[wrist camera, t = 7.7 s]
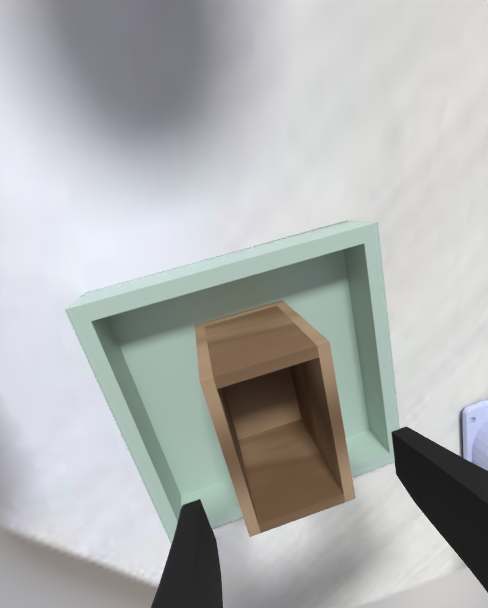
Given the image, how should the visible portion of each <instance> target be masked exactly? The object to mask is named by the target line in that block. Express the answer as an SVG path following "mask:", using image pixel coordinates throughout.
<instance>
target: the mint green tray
mask: <svg viewBox="0 0 488 608" xmlns="http://www.w3.org/2000/svg"><path fill="white" fill-rule="evenodd" d="M280 300H283V301H284V302H285V303H286V304H288V305H289V306H290V307H291V308H292V309H293V310H294V311H295V312H297V313H298V314H299V315H300V316H301V317H302V318H303V319H305V320H306V321H307V322H308V323H309V324H310V325H311V326H312V327H314V328H315V329H316V330H317V331H318V332H319V333H320V334H321V335H323V336H324V337H325V338H326V339H327V340H328V341H329V342H330V347H331V353H332V359H333V365H334V371H335V377H336V383H337V389H338V395H339V401H340V407H341V413H342V420H343V426H344V432H345V438H346V444H347V450H348V456H349V462H350V468H351V474H352V478H354V477H356V476H359V475H362V474H364V473H367V472H370V471H373V470H375V469H378V468H381V467H384V466H386V465H389V464H392V463H395V459H394V450H393V442H392V433H391V432H392V431H395V430H398V429H400V427H399V417H398V408H397V398H396V389H395V379H394V370H393V361H392V351H391V342H390V332H389V323H388V313H387V304H386V295H385V285H384V276H383V266H382V257H381V247H380V238H379V228H378V222H361V221H345V222H341V223H337V224H334V225H330V226H326V227H323V228H319V229H316V230H312V231H308V232H305V233H301V234H297V235H294V236H290V237H287V238H283V239H279V240H276V241H272V242H268V243H265V244H261V245H258V246H254V247H250V248H247V249H243V250H239V251H236V252H232V253H229V254H225V255H221V256H218V257H214V258H210V259H207V260H203V261H200V262H196V263H192V264H189V265H185V266H181V267H178V268H174V269H171V270H167V271H163V272H160V273H156V274H152V275H149V276H145V277H142V278H138V279H134V280H131V281H127V282H123V283H120V284H116V285H113V286H109V287H105V288H102V289H98V290H95V291H91V292H87V293H85V294H84V295H83V296H81V297H80V298H79V299H78V300H76V301H75V302H74V303H73V304H71V305H70V306H69V307H68V308H66V309H65V311H66V313H67V315H68V318H69V320H70V322H71V324H72V326H73V329H74V331H75V333H76V335H77V337H78V340H79V342H80V344H81V346H82V348H83V351H84V353H85V355H86V357H87V359H88V362H89V364H90V366H91V368H92V370H93V373H94V375H95V377H96V379H97V381H98V384H99V386H100V388H101V390H102V392H103V395H104V397H105V399H106V401H107V403H108V406H109V408H110V410H111V412H112V414H113V417H114V419H115V421H116V423H117V425H118V428H119V430H120V432H121V434H122V436H123V439H124V441H125V443H126V445H127V447H128V450H129V452H130V454H131V456H132V458H133V461H134V463H135V465H136V467H137V469H138V472H139V474H140V476H141V478H142V480H143V483H144V485H145V487H146V489H147V491H148V494H149V496H150V498H151V500H152V502H153V505H154V507H155V509H156V511H157V513H158V516H159V518H160V520H161V522H162V524H163V527H164V529H165V531H166V533H167V535H168V538H169V540H170V542H171V544H172V541H173V538H174V534H175V530H176V527H177V522H178V518H179V514H180V510H181V507H182V506H183V505H184V504H187V503H190V502H193V501H196V500H198V499H200V500H201V502H202V505H203V507H204V510H205V513H206V515H207V518H208V520H209V523H210V526H211V528H212V529H214V528H216V527H219V526H222V525H225V524H227V523H230V522H233V521H236V520H238V519H241V518H244V517H243V514H242V511H241V508H240V505H239V502H238V499H237V496H236V492H235V489H234V486H233V483H232V480H231V477H230V474H229V471H228V468H227V465H226V462H225V458H224V455H223V452H222V449H221V446H220V443H219V440H218V437H217V434H216V431H215V428H214V425H213V421H212V418H211V415H210V412H209V409H208V406H207V403H206V400H205V397H204V394H203V391H202V388H201V384H200V380H199V369H198V357H197V346H196V335H195V325H197V324H201V323H204V322H207V321H211V320H214V319H218V318H221V317H225V316H228V315H232V314H235V313H239V312H242V311H246V310H249V309H253V308H256V307H260V306H263V305H267V304H270V303H274V302H277V301H280Z"/></svg>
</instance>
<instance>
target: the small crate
mask: <svg viewBox="0 0 488 608" xmlns="http://www.w3.org/2000/svg"><path fill="white" fill-rule="evenodd" d="M195 335H196V346H197V357H198V369H199V380H200V384H201V388H202V391H203V394H204V397H205V400H206V403H207V406H208V409H209V412H210V415H211V418H212V421H213V425H214V428H215V431H216V434H217V437H218V440H219V443H220V446H221V449H222V452H223V455H224V458H225V462H226V465H227V468H228V471H229V474H230V477H231V480H232V483H233V486H234V489H235V492H236V496H237V499H238V502H239V505H240V508H241V511H242V514H243V517H244V520H245V523H246V526H247V529H248V533H249V536H250V537H251V536H254V535H257V534H259V533H262V532H265V531H268V530H270V529H273V528H276V527H279V526H281V525H284V524H287V523H289V522H292V521H295V520H298V519H300V518H303V517H306V516H309V515H311V514H314V513H317V512H320V511H322V510H325V509H328V508H331V507H333V506H336V505H339V504H342V503H344V502H347V501H350V500H353V499H355V492H354V486H353V480H352V474H351V468H350V462H349V456H348V450H347V444H346V438H345V432H344V426H343V420H342V413H341V407H340V401H339V395H338V389H337V383H336V377H335V371H334V365H333V359H332V353H331V347H330V342H329V341H328V340H327V339H326V338H325V337H324V336H323V335H321V334H320V333H319V332H318V331H317V330H316V329H315V328H314V327H312V326H311V325H310V324H309V323H308V322H307V321H306V320H305V319H303V318H302V317H301V316H300V315H299V314H298V313H297V312H295V311H294V310H293V309H292V308H291V307H290V306H289V305H288V304H286V303H285V302H284V301H283V300H280V301H277V302H274V303H270V304H267V305H263V306H260V307H256V308H253V309H249V310H246V311H242V312H239V313H235V314H232V315H228V316H225V317H221V318H218V319H214V320H211V321H207V322H204V323H201V324H197V325H195Z"/></svg>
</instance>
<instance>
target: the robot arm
mask: <svg viewBox="0 0 488 608" xmlns="http://www.w3.org/2000/svg"><path fill="white" fill-rule="evenodd" d="M462 419H463V455H464V458H462V457H460V456H459V455H457V454H455V453H453V452H451V451H449V450H448V449H446V448H444V447H442V446H440V445H439V444H437V443H435V442H433V441H431V440H430V439H428V438H426V437H424V436H423V435H421V434H419V433H417V432H415V431H414V430H412V429H410V428H408V427H404V428H401V429H398V430H395V431H392V432H391V433H392V442H393V450H394V459H395V467H396V475H397V476H398V478H399V479H400V481H401V482H402V484H403V485H404V487H405V488H406V490H407V491H408V493H409V494H410V496H411V497H412V499H413V500H414V502H415V503H416V504H417V506H418V507H419V508H420V509H421V511H422V512H423V513H424V514H425V515H426V517H427V518H428V519H429V520H430V522H431V523H432V524H433V525H434V526H435V528H436V529H437V530H438V531H439V533H440V534H441V535H442V536H443V537H444V539H445V540H446V541H447V542H448V543H449V545H450V546H451V547H452V548H453V549H454V551H455V552H456V553H457V554H458V556H459V557H460V558H461V559H462V560H463V562H464V563H465V564H466V565H467V566H468V568H469V569H470V570H471V571H472V573H473V574H474V575H475V576H476V578H477V579H478V580H479V581H480V583H481V584H482V585H483V587H484V588H485V589H486V591H487V592H488V399H487V400H484V401H482V402H479V403H476V404H473V405H470V406H468V407H466V408H465V409H464V410H463V413H462ZM151 608H223V601H222V582H221V571H220V564H219V556H218V549H217V543H216V538H215V536H214V533H213V531H212V528H211V526H210V523H209V520H208V518H207V515H206V513H205V510H204V507H203V505H202V502H201V500H200V499H198V500H196V501H193V502H190V503H187V504H184V505H183V506H182V507H181V510H180V514H179V518H178V522H177V527H176V530H175V534H174V538H173V541H172V545H171V548H170V552H169V555H168V558H167V562H166V565H165V568H164V571H163V574H162V578H161V581H160V584H159V587H158V590H157V592H156V595H155V598H154V601H153V604H152V606H151Z"/></svg>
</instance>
